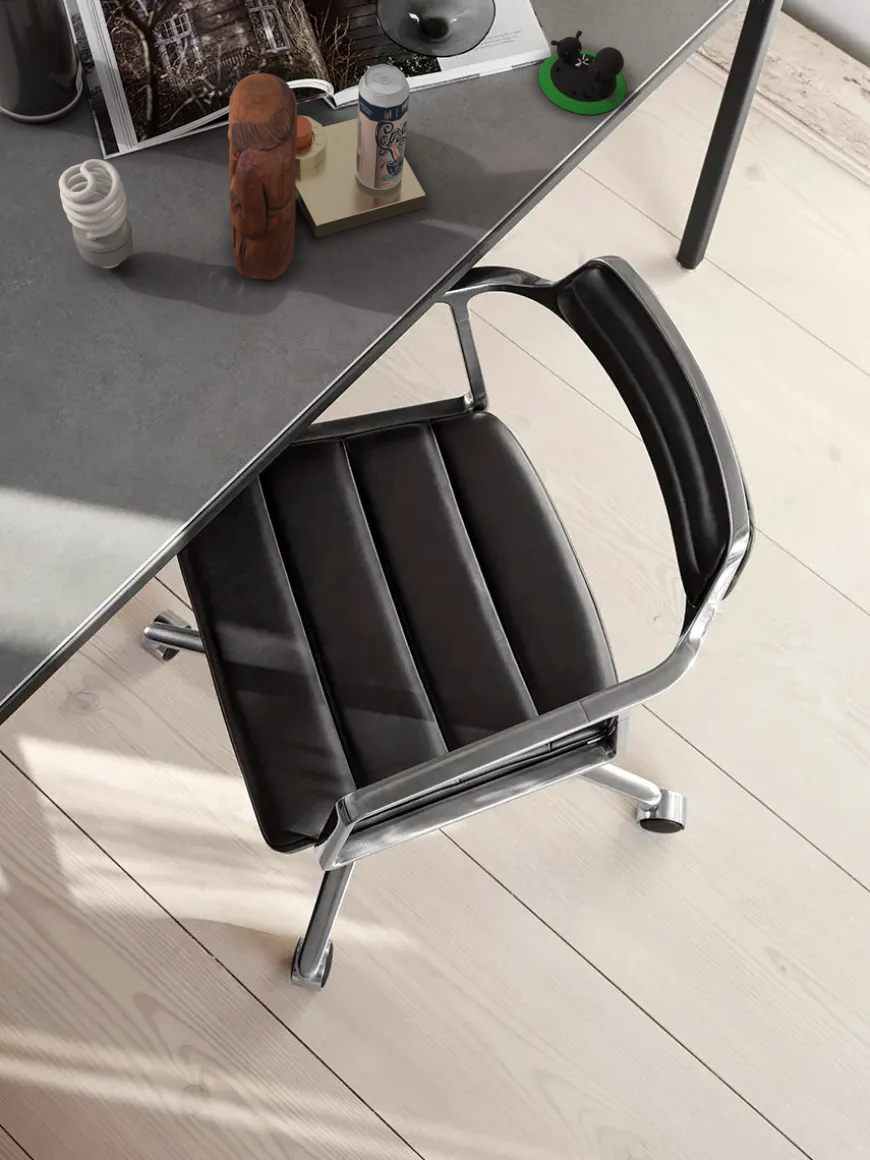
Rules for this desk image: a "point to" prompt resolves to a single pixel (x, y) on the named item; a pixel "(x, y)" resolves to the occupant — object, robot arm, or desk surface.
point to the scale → (345, 184)
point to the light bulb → (97, 212)
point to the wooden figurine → (262, 174)
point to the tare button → (303, 133)
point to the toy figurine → (583, 77)
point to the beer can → (381, 126)
